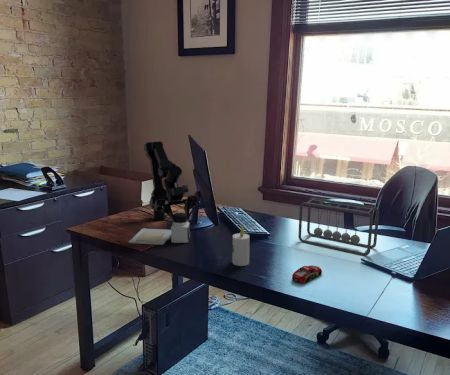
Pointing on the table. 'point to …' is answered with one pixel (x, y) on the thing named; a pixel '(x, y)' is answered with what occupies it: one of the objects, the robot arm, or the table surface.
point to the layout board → (151, 236)
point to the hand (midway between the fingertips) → (181, 219)
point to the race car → (306, 273)
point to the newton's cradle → (336, 235)
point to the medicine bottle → (180, 228)
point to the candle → (241, 248)
